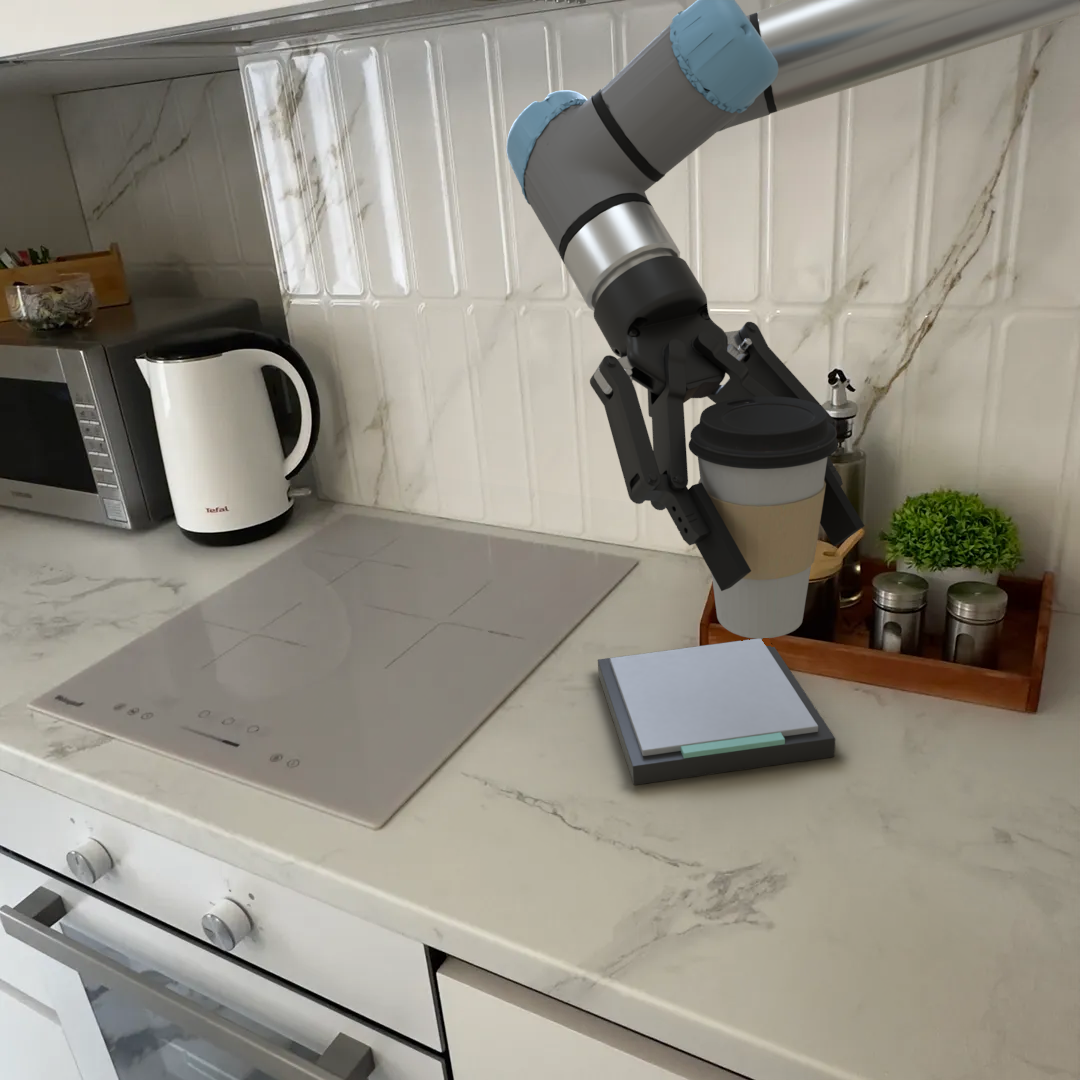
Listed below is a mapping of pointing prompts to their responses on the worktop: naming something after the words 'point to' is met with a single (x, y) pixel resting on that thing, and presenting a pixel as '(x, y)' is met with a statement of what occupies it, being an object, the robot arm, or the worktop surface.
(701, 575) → the worktop surface
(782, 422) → the coffee cup
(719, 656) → the kitchen scale
